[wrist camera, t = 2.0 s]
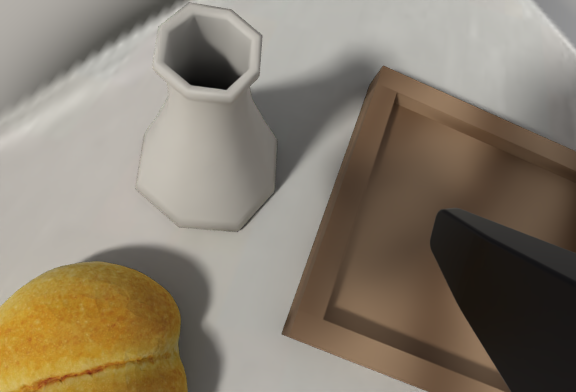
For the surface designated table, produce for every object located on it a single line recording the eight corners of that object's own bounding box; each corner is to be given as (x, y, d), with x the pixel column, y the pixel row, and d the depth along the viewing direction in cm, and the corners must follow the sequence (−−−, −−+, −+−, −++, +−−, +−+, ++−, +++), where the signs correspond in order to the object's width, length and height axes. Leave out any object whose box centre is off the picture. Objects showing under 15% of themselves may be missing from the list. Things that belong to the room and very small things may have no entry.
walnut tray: (590, 181, 25) (620, 171, 24) (555, 441, 21) (590, 454, 19) (369, 84, 25) (383, 65, 23) (281, 334, 20) (288, 336, 18)
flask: (175, 82, 22) (150, -87, 13) (297, 135, 23) (359, 9, 13) (110, 199, 20) (20, 97, 11) (247, 256, 21) (278, 207, 11)
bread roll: (173, 253, 20) (165, 239, 16) (196, 455, 18) (193, 493, 14) (-18, 282, 18) (-76, 274, 15) (-17, 510, 16) (-86, 570, 12)
